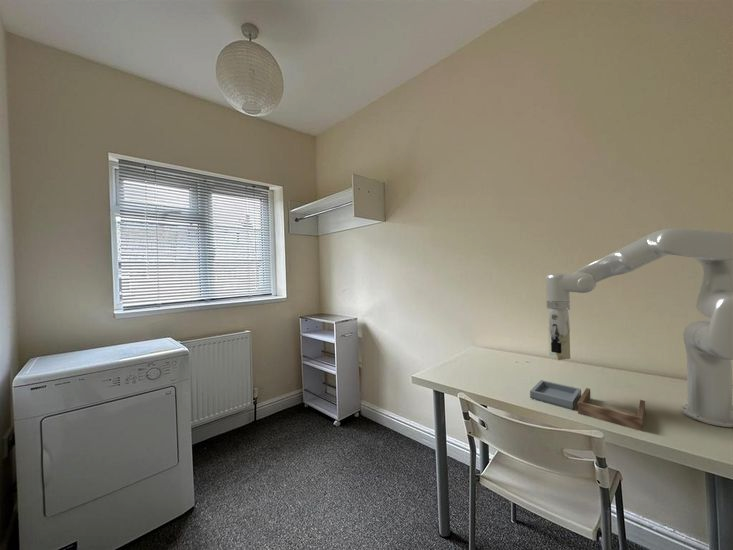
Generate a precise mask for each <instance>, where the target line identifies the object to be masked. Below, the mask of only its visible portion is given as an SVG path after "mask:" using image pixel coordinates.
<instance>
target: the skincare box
mask: <svg viewBox="0 0 733 550" xmlns="http://www.w3.org/2000/svg"><path fill="white" fill-rule="evenodd" d="M551 332H552V331H551ZM570 332H571V331H570ZM570 332H569V328H568V334H566V335H565V336H562V335H561V339H560V343H561V353H554V352H552V351H551V334H550V332H549V326H548V327H547V333H548V334H547V336H548V337H547V339H548V342H547V343H548V357H549V358H550V359H553V360H556V361H563V360H570V359H571V341H570V340H571V337H570V336H571V335H570ZM556 334H559V333H558V330H557V332H556ZM556 337H557V338H558V336H556Z"/></svg>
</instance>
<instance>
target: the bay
mask: <svg viewBox="0 0 733 550" xmlns="http://www.w3.org/2000/svg"><path fill="white" fill-rule="evenodd" d="M590 401H591V388H588V387H586V388H585V390H584V391H583V393H581V398H580V399H579V401H578V403H577V414H578V415H583V416H586V417H590V418H593V419H597V420H599V421H600V420H601V421H604V422H607V423H612V424H614V425H619V426H621V427H626V428H630V429H633V430H635V431H636V430H637V431H640V432H643V429H644V424H645V423H644V422H645V417H646V400H643V399H639V405H638V409H637V413H636V414H637V415H635V414H631V413H627V412H625V411H624V412H623V411H619V410H616V409H611V408H608V407H603V406H599V405H595V404H591V403H590Z"/></svg>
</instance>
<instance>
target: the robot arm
mask: <svg viewBox="0 0 733 550" xmlns="http://www.w3.org/2000/svg"><path fill="white" fill-rule="evenodd" d="M670 255H671V256H678V257H687V258H694V259H695V260H696V261H697V262H698V263H699V264H700V266H702V270H703V276H702V281H701V286H700V288H699V289H700V290H699V293H698V296H697V299H696V305H695V306H696V310H697V311H698V312H699V313H700V314H702V315H703V316H706V317H708V318H710V321H709V320H699V321H694V322H691V323H689V324H687V325H686V327H685V328H684V331H683V334H682V336H683V337H682V338H683V342H684V348H685V351H686V352H685V353H686V378H687V379H686V381H687V382H686V384H687V385H686V388H687V390H686V391H687V392H686V393H687V404H684V405H681V407H680V411H681V413H683V414H684V415H686V416H687V417H689V418H691V419H693V420H696V421H699V422H702V423H704V424H709V425H713V426H717V427H724V428H733V365H732V361H733V232H727V231H715V230H713V231H712V230H701V229H689V228H676V227H674V228H673V227H672V228H671V227H670V228H666V229H665V228H664V229H659V230H657V231H653V232H651V233H649V234H647V235H645V236H643V237H641V238H639V239H637V240H635V241H633V242H632V243H629V244H628V245H627V244H626V246H624V247H621V248H619V249H617V250H615V251H614V252H611V253H610V254H607V255H605V256H604V257H602V258H600V259H598V260H595V261H593V262H590V263H588V264H587V265H585V266H583V267H581V268H579V269H576V270H575V271H573V272H571V273H570V274H566V273H548V274H547V275H546V276H545V288H546V289H545V294H546V310H549V311H548V327H549V332H550V334H551V351H552V352H554V353H561V343H560V339H561V335H562V336H565V335H566V334H568V328H569V332H571V328H570V317H569V315H570V314H569V310H571V308H570V307H571V304H570V296H571V295H570V293H579V294H587V293H590V292H593V290H594V289H596V287H597V283H599V282H602V281H603V280H606V279H609V278H612V277H614V276H616V277H617V276H620V275H625V274H629V273H632V272H634V271H636V270H638V269H640V268H642V267H643V266H646V265H649V264H651V263H652V262H655V261H657V260H659V259H662V258H663V257H665V256H670ZM557 330H558V333H559V334H556V332H557ZM551 331H552V332H551ZM556 336H558V338H557V337H556Z"/></svg>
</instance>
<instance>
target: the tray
mask: <svg viewBox="0 0 733 550" xmlns="http://www.w3.org/2000/svg"><path fill="white" fill-rule="evenodd" d="M529 396H530V397H529V398H532V399H531V400H534V399H535V400H534V401H537V402H541V401H542V403H545V404H550V405H553V406H556V407H561V408H564V409H568V410H570V411H571V410H572V411H573V410H575V407H577V405H578V401H579V399H580V398H581V396H582V388H578V387H574V386H569V385H565V384H560V383H557V382H552V381H547V380H543V379H540V380H539V382H537V383H536V384H535V385H534V386H533V387H532V389H531V390H529Z"/></svg>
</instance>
